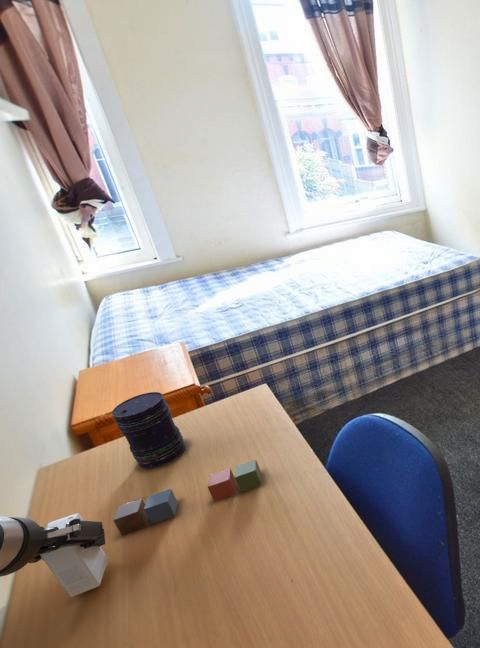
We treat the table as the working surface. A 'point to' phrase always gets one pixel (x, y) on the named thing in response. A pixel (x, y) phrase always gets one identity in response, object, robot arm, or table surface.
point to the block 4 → (248, 475)
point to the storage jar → (149, 430)
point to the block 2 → (161, 506)
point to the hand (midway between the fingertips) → (85, 543)
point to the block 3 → (222, 484)
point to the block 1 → (131, 516)
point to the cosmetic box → (76, 563)
